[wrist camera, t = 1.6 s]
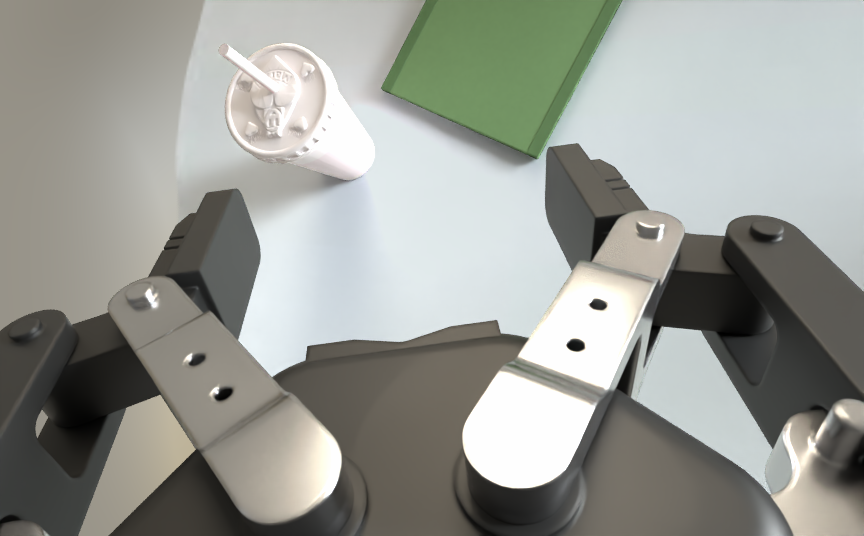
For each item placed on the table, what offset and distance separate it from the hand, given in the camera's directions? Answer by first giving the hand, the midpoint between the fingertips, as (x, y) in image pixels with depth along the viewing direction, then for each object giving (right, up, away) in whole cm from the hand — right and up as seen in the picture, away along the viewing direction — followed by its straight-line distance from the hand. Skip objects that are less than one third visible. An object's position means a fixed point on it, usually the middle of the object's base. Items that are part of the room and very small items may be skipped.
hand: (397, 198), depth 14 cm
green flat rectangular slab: (+8, +18, +21) cm, 29 cm away
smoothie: (-5, +6, +24) cm, 25 cm away
